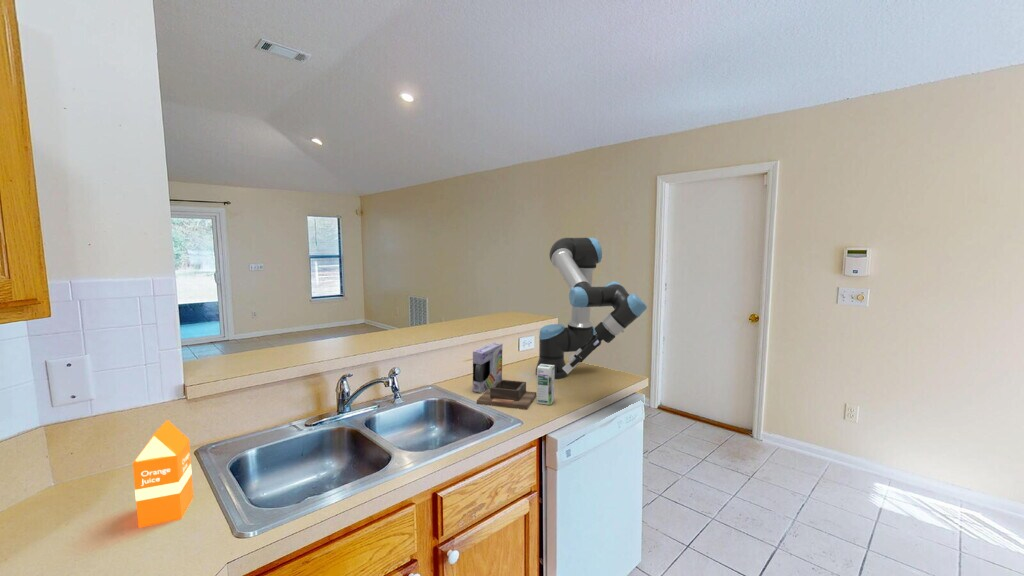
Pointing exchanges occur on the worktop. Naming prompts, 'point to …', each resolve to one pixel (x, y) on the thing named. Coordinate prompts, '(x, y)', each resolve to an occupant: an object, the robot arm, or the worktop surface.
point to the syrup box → (545, 384)
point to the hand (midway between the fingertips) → (567, 366)
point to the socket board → (508, 395)
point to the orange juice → (163, 477)
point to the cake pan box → (487, 366)
